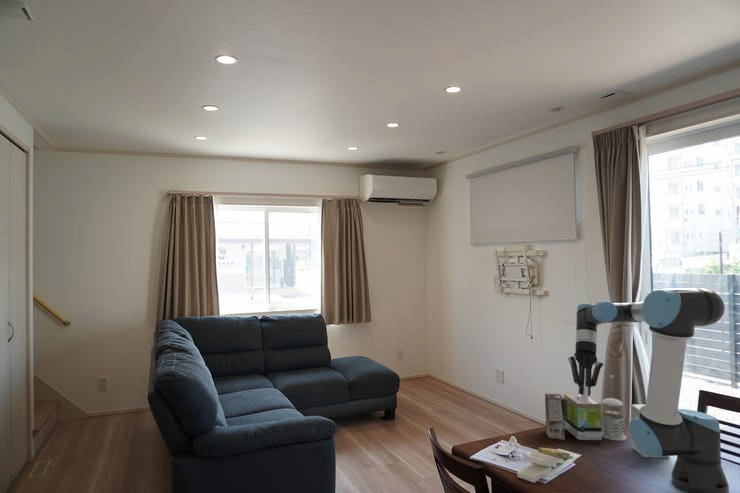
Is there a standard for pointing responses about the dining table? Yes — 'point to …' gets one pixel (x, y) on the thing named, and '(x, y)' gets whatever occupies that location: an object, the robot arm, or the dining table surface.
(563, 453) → the ochre tile
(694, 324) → the robot arm
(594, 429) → the tea box
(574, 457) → the mat
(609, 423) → the french press
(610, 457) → the dining table surface
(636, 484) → the dining table surface
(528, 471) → the ivory tile
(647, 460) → the dining table surface
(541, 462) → the ivory tile
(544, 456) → the ivory tile
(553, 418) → the coffee box
